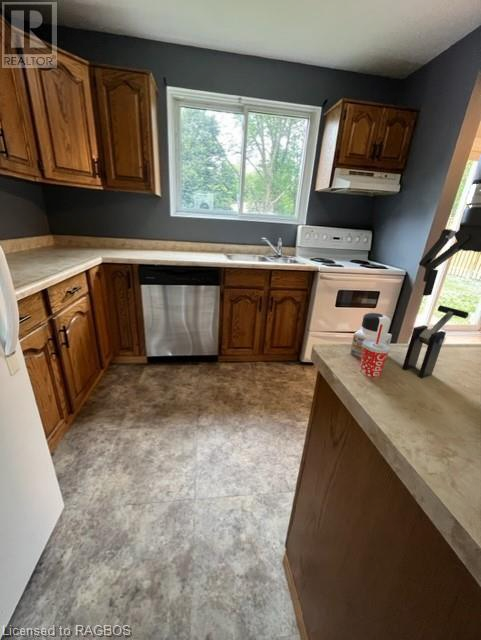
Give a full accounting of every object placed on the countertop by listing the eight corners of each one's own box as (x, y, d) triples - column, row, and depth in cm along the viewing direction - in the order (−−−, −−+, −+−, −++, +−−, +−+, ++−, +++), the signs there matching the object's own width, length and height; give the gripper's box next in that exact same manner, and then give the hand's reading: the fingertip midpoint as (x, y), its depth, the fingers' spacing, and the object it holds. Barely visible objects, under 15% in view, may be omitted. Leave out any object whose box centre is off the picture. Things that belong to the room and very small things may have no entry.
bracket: (411, 363, 75) (424, 320, 70) (447, 380, 68) (464, 333, 63) (384, 373, 69) (396, 327, 65) (420, 392, 62) (436, 341, 57)
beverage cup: (359, 382, 65) (372, 328, 60) (352, 369, 70) (363, 319, 65) (386, 385, 64) (401, 330, 59) (377, 371, 70) (389, 321, 65)
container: (348, 358, 76) (357, 314, 72) (358, 349, 82) (367, 308, 77) (377, 368, 71) (388, 322, 67) (386, 359, 77) (397, 315, 72)
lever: (441, 309, 70) (441, 302, 69) (468, 317, 65) (468, 309, 64) (411, 339, 67) (410, 332, 66) (437, 349, 62) (437, 342, 61)
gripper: (417, 207, 67) (397, 291, 74) (566, 204, 46) (518, 320, 54) (434, 208, 70) (413, 288, 77) (579, 206, 50) (532, 315, 57)
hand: (456, 302), depth 65 cm, fingers open, 13 cm apart
